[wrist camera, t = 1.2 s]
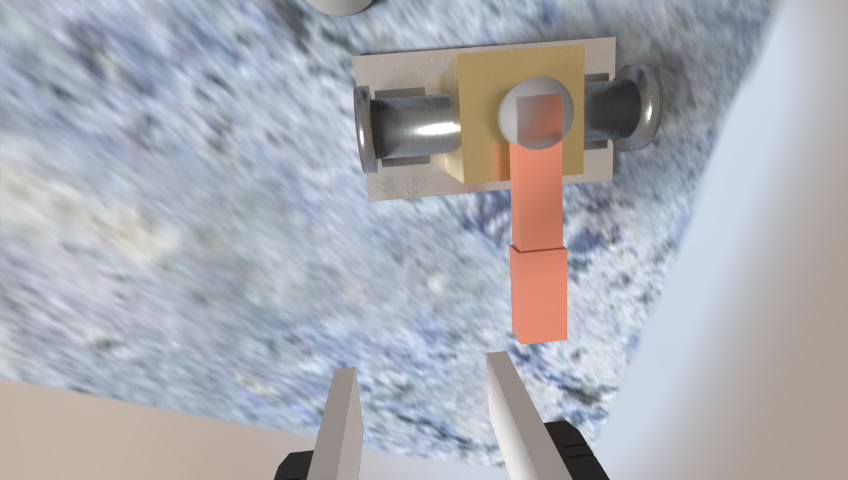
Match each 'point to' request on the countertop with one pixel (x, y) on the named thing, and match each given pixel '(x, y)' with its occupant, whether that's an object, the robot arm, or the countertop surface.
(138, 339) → the countertop surface
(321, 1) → the cup
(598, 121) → the valve
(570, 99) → the lever
